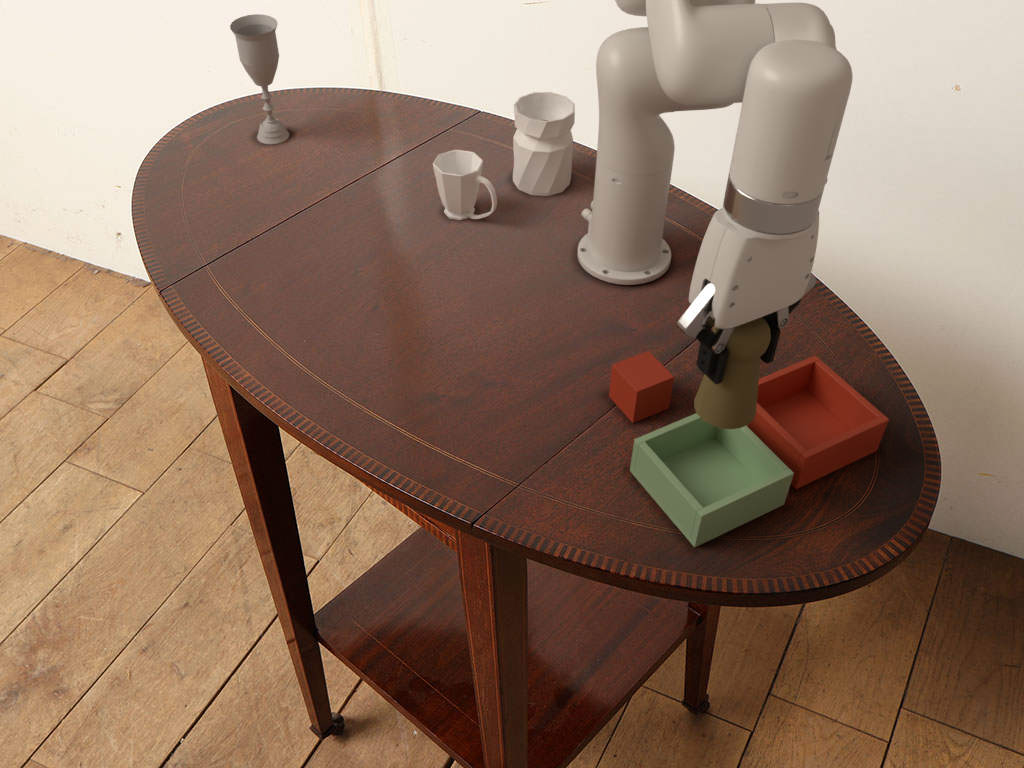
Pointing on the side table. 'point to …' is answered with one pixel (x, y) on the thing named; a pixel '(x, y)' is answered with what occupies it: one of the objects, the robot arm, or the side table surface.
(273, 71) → the chalice
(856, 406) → the rust bin
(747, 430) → the sage bin
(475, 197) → the cup
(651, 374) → the rust block
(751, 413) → the olive brown pawn
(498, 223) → the side table surface
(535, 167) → the vase
